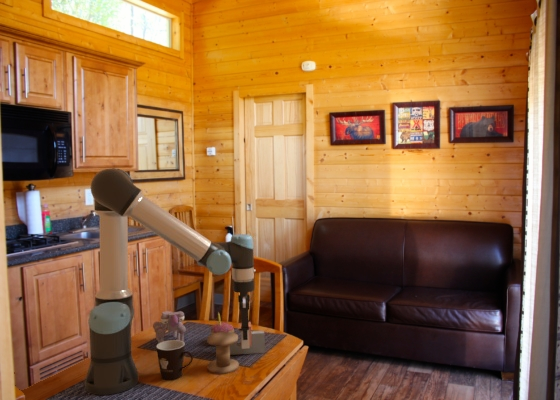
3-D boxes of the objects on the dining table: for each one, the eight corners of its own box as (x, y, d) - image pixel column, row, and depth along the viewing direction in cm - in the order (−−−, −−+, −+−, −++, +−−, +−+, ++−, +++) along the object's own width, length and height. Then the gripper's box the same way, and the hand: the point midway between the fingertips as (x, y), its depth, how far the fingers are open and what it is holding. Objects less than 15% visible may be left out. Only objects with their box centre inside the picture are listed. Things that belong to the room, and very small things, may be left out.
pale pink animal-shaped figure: (194, 351, 172) (191, 314, 171) (164, 358, 167) (160, 320, 166) (180, 334, 190) (177, 300, 189) (152, 340, 185) (149, 305, 184)
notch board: (224, 354, 169) (223, 334, 168) (224, 352, 171) (224, 332, 171) (264, 352, 170) (264, 333, 169) (264, 350, 172) (264, 330, 172)
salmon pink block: (241, 346, 168) (240, 326, 167) (241, 341, 173) (240, 322, 172) (251, 346, 168) (251, 326, 168) (250, 341, 173) (250, 321, 173)
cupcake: (224, 348, 175) (223, 315, 174) (206, 343, 179) (205, 311, 179) (238, 340, 182) (238, 309, 181) (220, 336, 187) (220, 306, 186)
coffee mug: (152, 375, 152) (151, 344, 152) (177, 368, 158) (176, 338, 157) (170, 388, 144) (169, 355, 143) (195, 379, 149) (194, 347, 148)
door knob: (206, 374, 153) (205, 343, 152) (208, 362, 163) (207, 332, 162) (238, 373, 153) (238, 342, 153) (238, 360, 163) (238, 331, 163)
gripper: (255, 285, 160) (257, 354, 162) (253, 273, 178) (255, 335, 180) (232, 286, 160) (234, 355, 161) (232, 274, 177) (234, 336, 179)
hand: (245, 344), depth 170 cm, fingers closed on salmon pink block, 5 cm apart
